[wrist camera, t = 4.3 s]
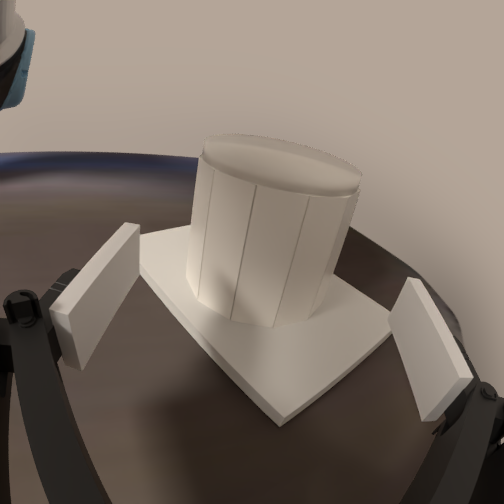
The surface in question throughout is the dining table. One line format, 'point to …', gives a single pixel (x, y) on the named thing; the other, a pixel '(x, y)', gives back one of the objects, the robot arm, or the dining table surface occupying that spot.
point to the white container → (267, 227)
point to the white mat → (269, 333)
